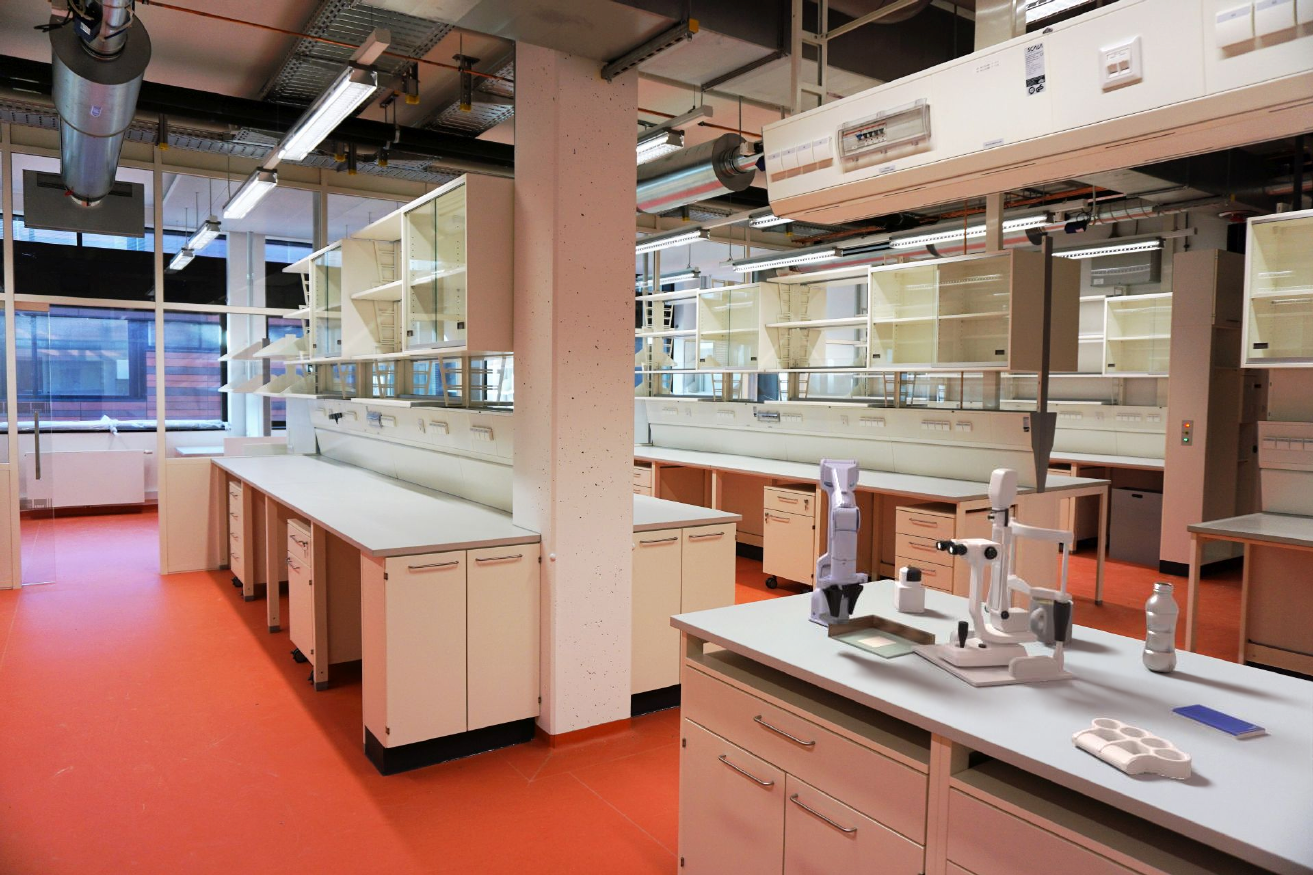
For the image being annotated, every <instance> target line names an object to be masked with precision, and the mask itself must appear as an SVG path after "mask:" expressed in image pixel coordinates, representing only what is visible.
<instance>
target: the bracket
mask: <svg viewBox="0 0 1313 875" xmlns="http://www.w3.org/2000/svg"><path fill="white" fill-rule="evenodd" d="M849 611H850V598H848V597H844V598H842V599H841V603H840V613H839V617H837V618H836V617H833V616H831V615H830V612H828V613H822V614H819V619H821V620H823V621H826V622H829V623H832V624H834V625H842V624H847V623H849V619H850V615H849Z"/></svg>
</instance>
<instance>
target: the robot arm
mask: <svg viewBox="0 0 1313 875" xmlns="http://www.w3.org/2000/svg"><path fill="white" fill-rule="evenodd" d="M859 476H860V463H859V461H858V460H857V459H831V458H829V459H828V458H827V459H826V458H822V459H821V460H820V462H819V486H820V489H821V490H823V491H825V492H826V493H827V497H828V513H827V514H828V518H827V520H828V521H827V522H828V523H827V552H826V553H825V554H823V555H822V556H820V557H818V559H817V561H816V567H815V586H816V588H815V589H814V590H813V592H812V594H811V599H810V600H811V601H810V617H808V621H810V622H813V623H817V624H819V625H821V626H824V627H827V628H828V623H829V622H826V621H823V620H821V619H819V614H822V613H828V612H830V615H831V616H833V617H836V618H837V617H839V613H840V603H841V599H842V598H844V597H848V598H850V611H849V616H853V615H854V611H855V607H856V604H857V601H858V599H859V597H860V595H861V594H862V592H863V591H864V585H863V584H860V583H864V584H867V583H868V579H869V578H868V574H866V573H863V572H859V573H858V572H856V571H857V570H856V569H857V549H858V548H857V545H858V533H859V532H860V526H861V513H860V508H859V506H857V504H856V503H857V502H856V495H855V493H854V492H853V491H855V489H856V488H857V485H858V483H859V478H860V477H859Z"/></svg>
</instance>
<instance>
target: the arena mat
mask: <svg viewBox="0 0 1313 875" xmlns="http://www.w3.org/2000/svg"><path fill="white" fill-rule="evenodd" d="M830 638H831V639H834V640H836V641H839V642H840V643H844V644H847V645H850V646H852V647H855V648H858V649H860V650H863V651H866V652H868V653H871V654H874V655H876V656H879V657H882V658H884V659H891V658H895V657H899V656H905V655H909V654H913V653H915V652H914V651H913V650H911V646H919V645H921V644H918V643H916V642H913V641H910V640H907V639H904V638H901V637H898V636H895V635H892V634H889V633H886V632H883V631H881V630H878V629H875V628H870V629H865V630H860V631H855V632H850V633H845V634H840V635H835V636H831V637H830Z"/></svg>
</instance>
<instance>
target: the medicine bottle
mask: <svg viewBox="0 0 1313 875" xmlns="http://www.w3.org/2000/svg"><path fill="white" fill-rule="evenodd" d="M898 574H899V576H898V578H899V579H898V581H895V582H894V599H893V606H894V608H895V609H896V610H897V611H898V612H899V613H910V614H911V613H912V614H913V613H914V614H924V613H925V604H926V602H925V601H926V600H925V598H926V588H925V587H924V586H923V585H922V570H921V569H919V568H917V567H913V566H904V567H901V568H899V572H898Z"/></svg>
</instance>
